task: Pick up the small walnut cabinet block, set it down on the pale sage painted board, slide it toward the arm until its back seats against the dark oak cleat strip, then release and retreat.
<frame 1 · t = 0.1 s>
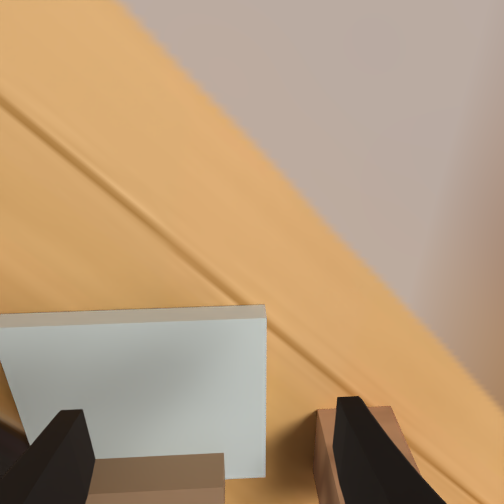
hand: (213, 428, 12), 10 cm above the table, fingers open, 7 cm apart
cabinet block: (349, 438, 27), on the table
wall board: (148, 395, 25), on the table
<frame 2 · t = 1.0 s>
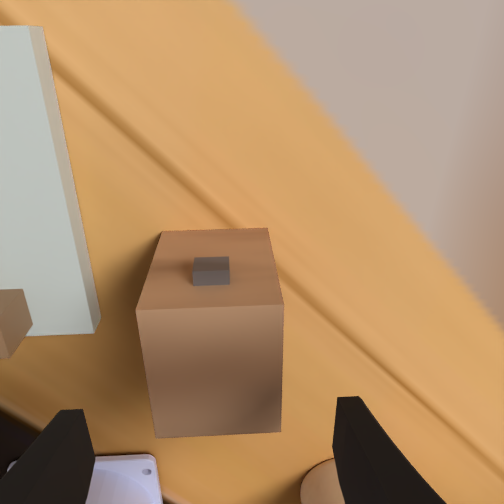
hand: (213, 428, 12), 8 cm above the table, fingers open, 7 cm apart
candle: (343, 482, 26), on the table
cabinet block: (218, 284, 20), on the table
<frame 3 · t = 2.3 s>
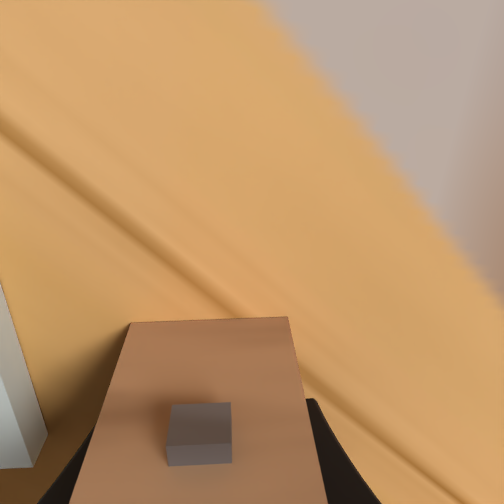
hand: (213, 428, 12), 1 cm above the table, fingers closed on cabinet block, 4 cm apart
cabinet block: (214, 391, 14), on the table, touching gripper
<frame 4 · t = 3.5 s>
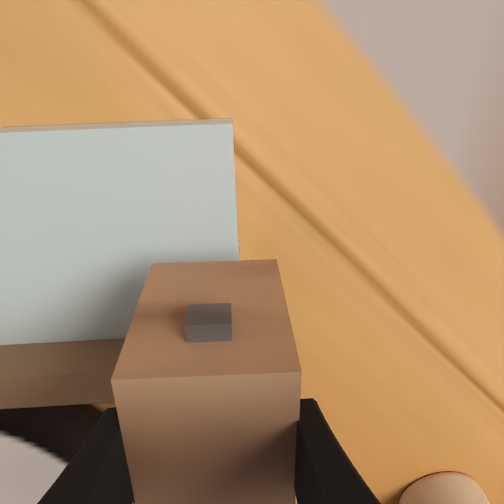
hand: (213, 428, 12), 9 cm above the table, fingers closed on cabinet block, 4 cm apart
candle: (437, 495, 29), on the table
cabinet block: (218, 324, 17), point 4 cm above the table, touching gripper
wall board: (91, 259, 20), on the table
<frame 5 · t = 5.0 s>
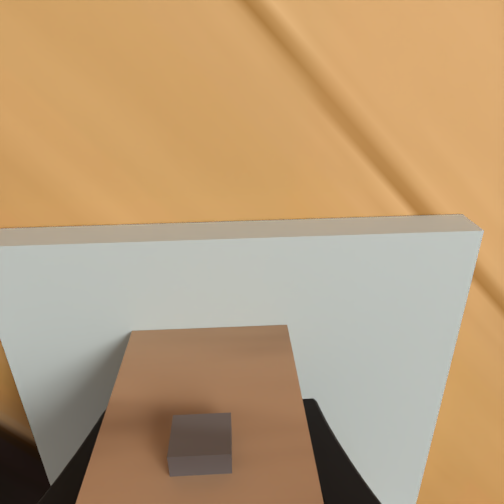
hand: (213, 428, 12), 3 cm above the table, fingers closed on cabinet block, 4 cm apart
cabinet block: (214, 397, 14), point 1 cm above the table, touching gripper
wall board: (237, 380, 15), on the table
when the fingers open (3 cm above the table, at t = 5.8 s): cabinet block stays where it is, resting on wall board.
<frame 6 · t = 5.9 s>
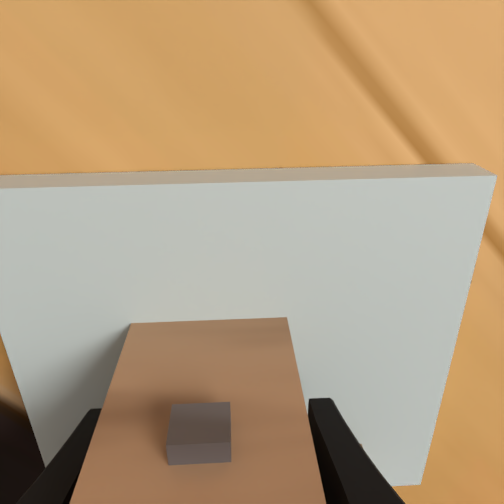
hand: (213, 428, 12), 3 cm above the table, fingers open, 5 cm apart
cabinet block: (214, 391, 14), point 1 cm above the table, touching wall board
wall board: (237, 345, 14), on the table
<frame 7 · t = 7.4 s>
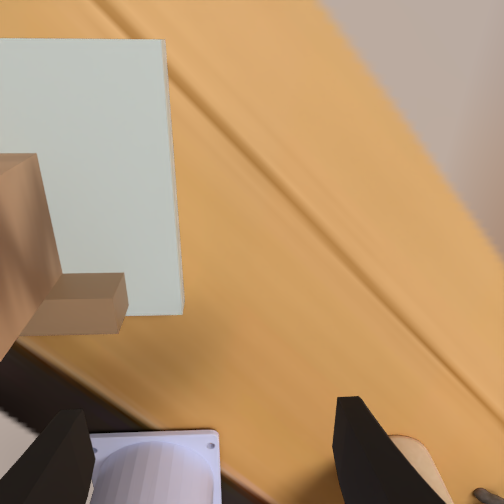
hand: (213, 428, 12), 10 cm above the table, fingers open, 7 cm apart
candle: (386, 460, 29), on the table
wall board: (22, 189, 19), on the table
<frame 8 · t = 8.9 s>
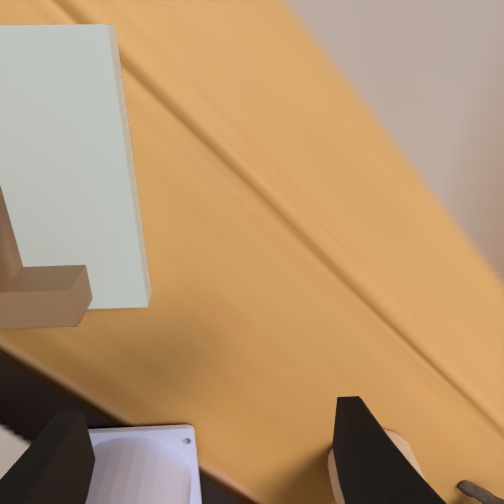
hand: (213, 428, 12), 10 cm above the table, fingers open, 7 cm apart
candle: (367, 453, 28), on the table
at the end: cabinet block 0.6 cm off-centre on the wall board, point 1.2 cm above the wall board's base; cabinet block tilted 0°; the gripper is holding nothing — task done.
